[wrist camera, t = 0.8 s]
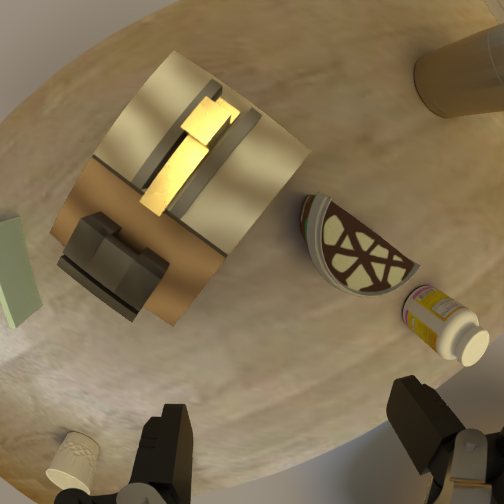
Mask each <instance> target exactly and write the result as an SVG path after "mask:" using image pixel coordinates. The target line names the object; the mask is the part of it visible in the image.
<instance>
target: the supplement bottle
mask: <svg viewBox="0 0 504 504" xmlns="http://www.w3.org/2000/svg"><path fill="white" fill-rule="evenodd" d="M403 319H404V322H405V324H406V325H407V326H408V327H409V328H410V329H411V330H412V331H413V332H414V333H415V334H416V335H418V336H419V337H420V338H421V339H422V340H423V341H424V342H425V343H426V344H428V345H429V346H430V347H431V348H432V349H433V350H434V351H435V352H436V353H438V354H439V355H440V356H441V357H442V358H444V359H447V360H453V359H457V360H458V361H459V362H460V363H461V364H462V365H464V366H471V365H473V364H474V363H476V362H477V361H478V360H479V359H480V358H481V356H482V355H483V354H484V352H485V350H486V348H487V346H488V343H489V334H488V332H487V331H486V330H485V329H483V328H482V327H481V326H479V323H478V319H477V316H476V315H475V313H474V312H473V311H471V310H470V309H468V308H467V307H465V306H463V305H462V304H460V303H459V302H457V301H455V300H454V299H452V298H451V297H449V296H447V295H446V294H444V293H442V292H441V291H439V290H437V289H436V288H434V287H431V286H422V287H420V288H418V289H416V290H415V291H414V292H413V293H412V294H411V295H410V296H409V297H408V299H407V301H406V303H405V305H404V309H403Z"/></svg>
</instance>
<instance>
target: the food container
mask: <svg viewBox="0 0 504 504" xmlns="http://www.w3.org/2000/svg"><path fill="white" fill-rule="evenodd" d="M331 200H332V198H331V197H328V196H327V195H324V194H322V193H319V192H318V193H317V195H316V196H314V195H307V196H306V198H305V200H304V202H303V204H302V209H301V214H300V227H301V233H302V235H303V237H304V240H305V242H306V244H307V245H308V249H309V252H310V256H311V259H312V261H313V263H314V265H315V267H316V269H317V270H318V272H319V273H320V275H321V276H322V277H323V278H324V279H325V280H326V281H327V282H328V283H329V284H331V285H332V286H334V287H335V288H337V289H339V290H341V291H344V292H346V293H349V294H352V295H355V296H360V297H375V296H382V295H386V294H389V293H391V292H393V291H396V290H397V289H399V288H401V287H402V286H404V285H405V284H406V283H407V282H408V281H410V280H411V279H412V277H413V276H414V275H415V274H416V273H417V271H418V270H419V269H420V267H421V266H420V265H418V264H417V263H415V262H413V261H411V260H410V259H408V258H406V257H405V256H404V255H403V254H401V253H400V252H399V251H398V250H396V249H395V248H394V247H393V246H391V245H390V244H389V243H387V242H386V241H385V240H384V239H382V238H381V237H380V236H379V235H377V234H376V233H375V232H373V231H372V230H371V229H369V228H368V227H366V226H365V225H364V224H362V223H361V222H360V221H358V220H357V219H356V218H354V217H353V216H352V215H350V214H349V213H347V212H346V211H345V210H343V209H342V208H340V207H339V206H337V205H336V204H334V203H333V202H332V201H331Z"/></svg>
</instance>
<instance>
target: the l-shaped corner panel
mask: <svg viewBox="0 0 504 504" xmlns="http://www.w3.org/2000/svg"><path fill="white" fill-rule="evenodd" d="M0 301H1V304H2V307H3V310H4V313H5V315H6V318H7V321H8V323H9V326H10V328H11V329H14V328H17V327H18V326H19V325H20V324H22V323H23V322H24V321H25V320H26V319H27V318H28V317H29V316H30V315H32V314H33V313H34V312H35V311H36V310H37V309H38V308H40V307H41V306H42V305H43V304H42V301H41V298H40V295H39V292H38V288H37V285H36V282H35V278H34V275H33V271H32V268H31V264H30V260H29V256H28V252H27V248H26V244H25V240H24V235H23V230H22V225H21V220H20V216H18V217H15V218H12V219H8V220H5V221H2V222H0Z"/></svg>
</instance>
